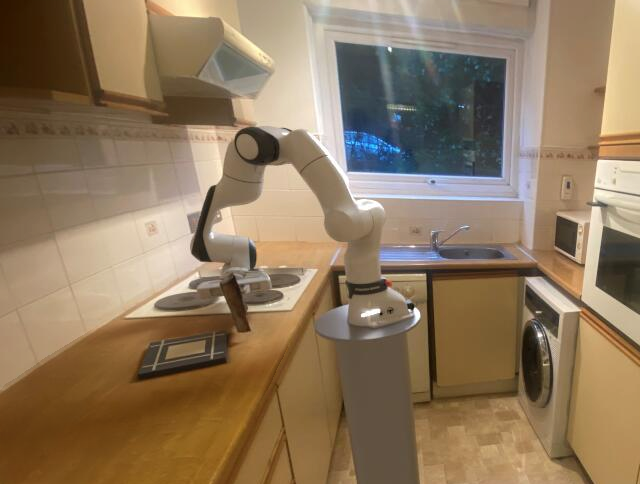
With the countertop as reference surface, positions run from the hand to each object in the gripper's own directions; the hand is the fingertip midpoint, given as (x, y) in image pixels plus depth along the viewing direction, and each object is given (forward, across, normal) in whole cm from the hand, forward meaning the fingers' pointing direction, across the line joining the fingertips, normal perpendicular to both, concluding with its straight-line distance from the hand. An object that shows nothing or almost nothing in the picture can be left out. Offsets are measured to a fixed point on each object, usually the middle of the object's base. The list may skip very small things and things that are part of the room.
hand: (235, 293), depth 133 cm
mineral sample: (+6, 0, +8) cm, 10 cm away
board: (+17, -13, +10) cm, 24 cm away
